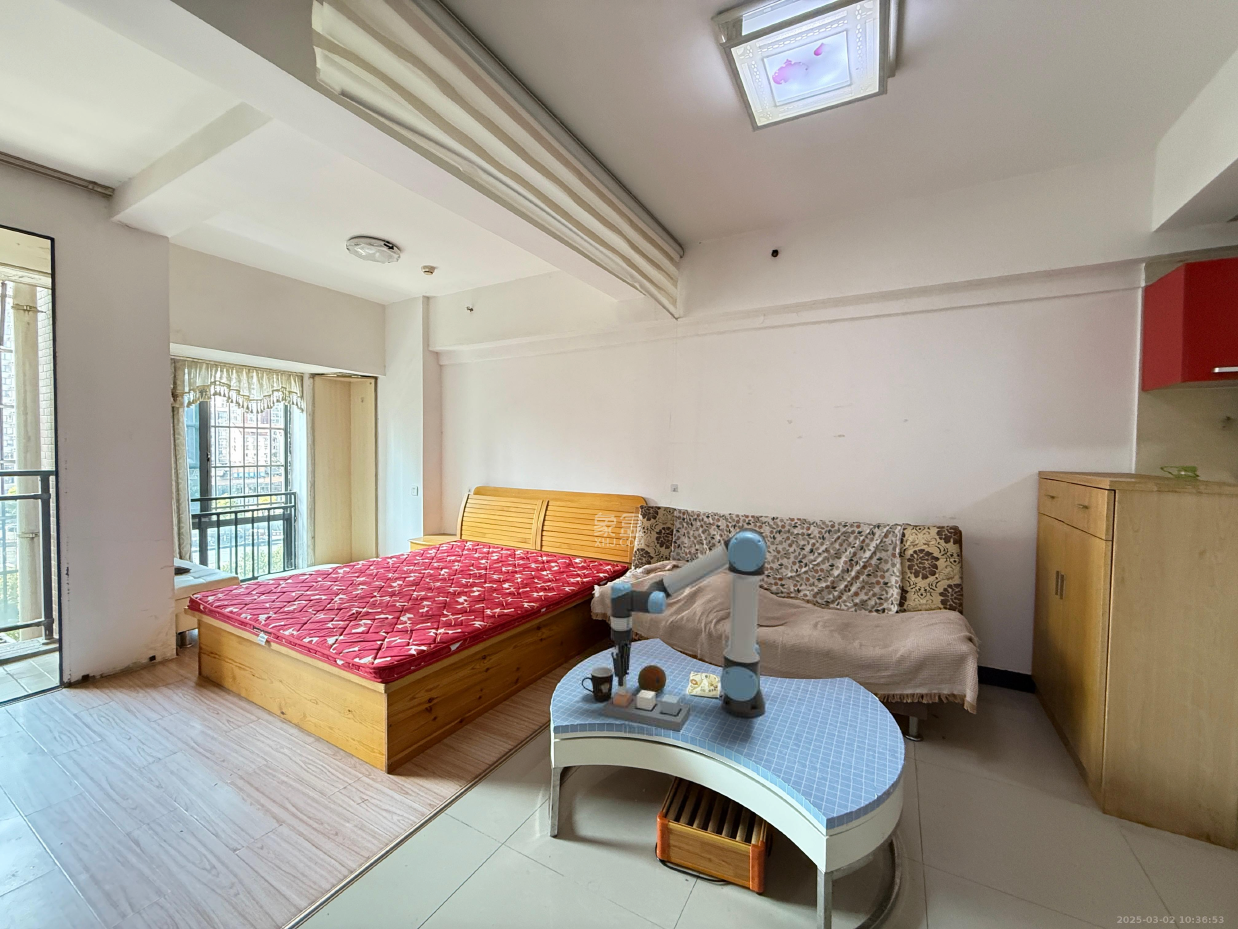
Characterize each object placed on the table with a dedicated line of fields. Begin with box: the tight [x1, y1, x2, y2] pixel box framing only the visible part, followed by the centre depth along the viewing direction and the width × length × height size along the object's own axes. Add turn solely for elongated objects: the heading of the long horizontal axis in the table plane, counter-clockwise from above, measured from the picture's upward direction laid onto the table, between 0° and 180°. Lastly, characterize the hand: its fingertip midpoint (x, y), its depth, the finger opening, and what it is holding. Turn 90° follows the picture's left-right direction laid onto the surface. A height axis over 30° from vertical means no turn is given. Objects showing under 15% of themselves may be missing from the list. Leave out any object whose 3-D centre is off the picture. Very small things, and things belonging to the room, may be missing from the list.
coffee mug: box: [581, 666, 615, 703], centre depth 188 cm, size 12×9×10 cm
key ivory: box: [636, 689, 657, 711], centre depth 175 cm, size 5×5×4 cm
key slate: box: [661, 693, 681, 715], centre depth 171 cm, size 5×5×4 cm
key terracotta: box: [612, 691, 633, 707], centre depth 178 cm, size 5×5×4 cm
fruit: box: [637, 664, 667, 694], centre depth 193 cm, size 12×13×10 cm
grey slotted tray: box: [602, 691, 691, 732], centre depth 175 cm, size 28×12×3 cm, turn 66°
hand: (622, 693), depth 178 cm, fingers closed
